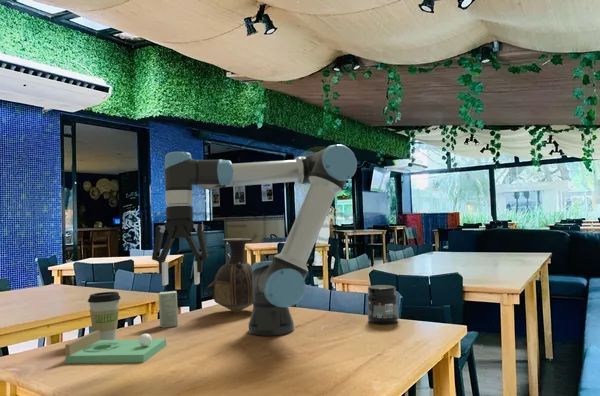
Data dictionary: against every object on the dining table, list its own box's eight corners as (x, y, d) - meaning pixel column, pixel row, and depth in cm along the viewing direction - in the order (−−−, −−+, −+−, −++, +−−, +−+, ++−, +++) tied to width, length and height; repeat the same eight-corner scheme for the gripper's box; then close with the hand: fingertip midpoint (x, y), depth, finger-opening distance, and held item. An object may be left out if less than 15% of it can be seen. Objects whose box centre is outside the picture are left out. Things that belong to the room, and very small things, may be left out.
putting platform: (166, 345, 136) (165, 328, 137) (143, 362, 120) (143, 343, 121) (96, 346, 138) (96, 330, 138) (65, 363, 122) (65, 344, 122)
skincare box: (178, 323, 166) (177, 290, 166) (177, 326, 161) (176, 292, 162) (160, 325, 164) (159, 291, 165) (159, 328, 160) (158, 293, 161)
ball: (154, 344, 130) (153, 332, 130) (148, 348, 127) (148, 335, 127) (142, 344, 131) (141, 332, 131) (136, 348, 127) (136, 335, 127)
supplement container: (376, 317, 164) (374, 284, 165) (403, 319, 158) (401, 285, 159) (362, 323, 156) (360, 288, 156) (390, 326, 150) (388, 290, 150)
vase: (202, 317, 174) (200, 240, 176) (219, 308, 194) (217, 238, 195) (259, 317, 171) (257, 238, 172) (271, 307, 190) (268, 236, 191)
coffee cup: (109, 345, 139) (108, 296, 140) (81, 344, 141) (80, 296, 142) (127, 336, 149) (126, 291, 150) (101, 336, 151) (100, 291, 152)
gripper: (218, 204, 133) (221, 281, 132) (148, 207, 134) (150, 283, 133) (211, 203, 125) (214, 285, 124) (137, 206, 127) (139, 287, 126)
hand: (181, 284), depth 129 cm, fingers open, 9 cm apart
